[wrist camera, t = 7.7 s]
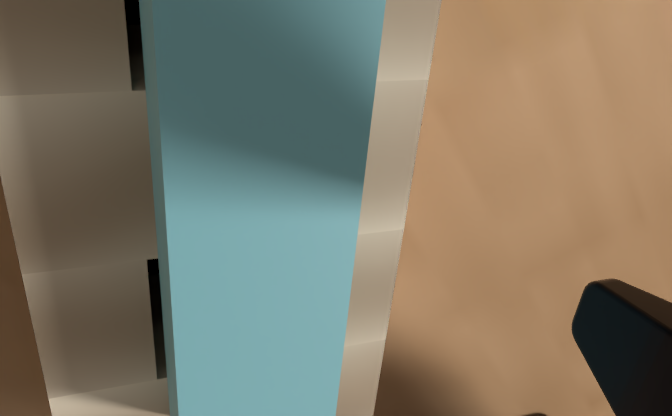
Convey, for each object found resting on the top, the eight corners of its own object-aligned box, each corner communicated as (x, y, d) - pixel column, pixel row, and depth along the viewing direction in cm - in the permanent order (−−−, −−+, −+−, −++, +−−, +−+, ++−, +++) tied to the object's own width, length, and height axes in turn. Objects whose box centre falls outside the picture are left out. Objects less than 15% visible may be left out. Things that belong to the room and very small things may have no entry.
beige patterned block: (-81, -444, 10) (-159, -561, 7) (397, -352, 12) (507, -404, 9) (73, 386, 19) (71, 505, 16) (327, 343, 22) (369, 437, 18)
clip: (111, -231, 11) (135, -255, 6) (274, -213, 12) (412, -220, 7) (156, 320, 18) (186, 529, 13) (260, 305, 19) (325, 494, 14)
